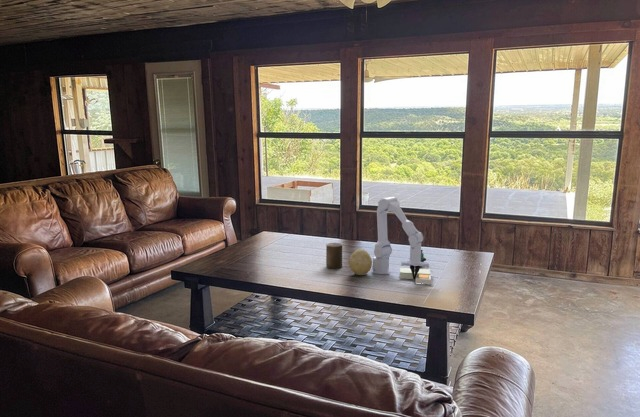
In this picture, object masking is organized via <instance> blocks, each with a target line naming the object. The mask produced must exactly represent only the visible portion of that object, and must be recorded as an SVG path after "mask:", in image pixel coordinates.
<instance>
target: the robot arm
mask: <svg viewBox="0 0 640 417" xmlns="http://www.w3.org/2000/svg"><path fill="white" fill-rule="evenodd" d="M377 205H378V206H377V208H376V221H377V222H376V223H377V224H376V225H377V242H376V243H375V244H374V249H373V254H374V256H372V267H371V269H372V271H371V272H372V274H379V275H390V271H391V269H390V257H391V255H392V253H393V249H392V245H391V242H390V241H389V239H388V238H389V237H388V213H389V212H391V213H394V214H395V216H396V217H397V219H398V220H399V221H400V222H401V224H402V225H401V227H402V229H403V231H404V232H405V233H406V235H407V237H408V243H409V260H407V261H405V260H403V261H401V263H400V264H401V265H400V266H402V267H403V266H407V267H409V268H410V269H411V272H412V275H413V279H412V280H416V276H417V273H418V271H419V270H420V269H421V267H420V266H422V267H423V268H425V267H426V268H429V267H430V262H426V261H424V262H421V250H422V242H423V241H424V239H425V238H424V234H423V232H421V231H419V230H418V229H417V228H416V227H415V225H414V222H412V220H409V219H408V218H407V216H406V215H405V213H404V211H403V210H402V208H401V206H400V205H401V204H400V201H398V198H397V197H395V196H390V197H383V198H380V200H378V201H377ZM414 270H415V276H414Z"/></svg>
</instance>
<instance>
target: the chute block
mask: <svg viewBox="0 0 640 417" xmlns="http://www.w3.org/2000/svg"><path fill="white" fill-rule="evenodd" d="M419 278H425V279H429V275H423V274H419Z"/></svg>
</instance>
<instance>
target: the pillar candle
mask: <svg viewBox="0 0 640 417" xmlns="http://www.w3.org/2000/svg"><path fill="white" fill-rule="evenodd" d="M325 247H326V248H325V250H326V258H325V259H326V260H325V261H326V263H325V265H326V266H325V267H326V268H328V269H330V270H331V269H332V270H337V269H338V270H339V269H342V268H343V243H339V242H329V243H326V245H325Z"/></svg>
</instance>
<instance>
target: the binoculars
mask: <svg viewBox="0 0 640 417" xmlns="http://www.w3.org/2000/svg"><path fill="white" fill-rule="evenodd" d="M424 255H425V254H424V253H423V249H421V262H426V261H427V258H426V257H425V256H424ZM422 267H423V266H420V268H422Z"/></svg>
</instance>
